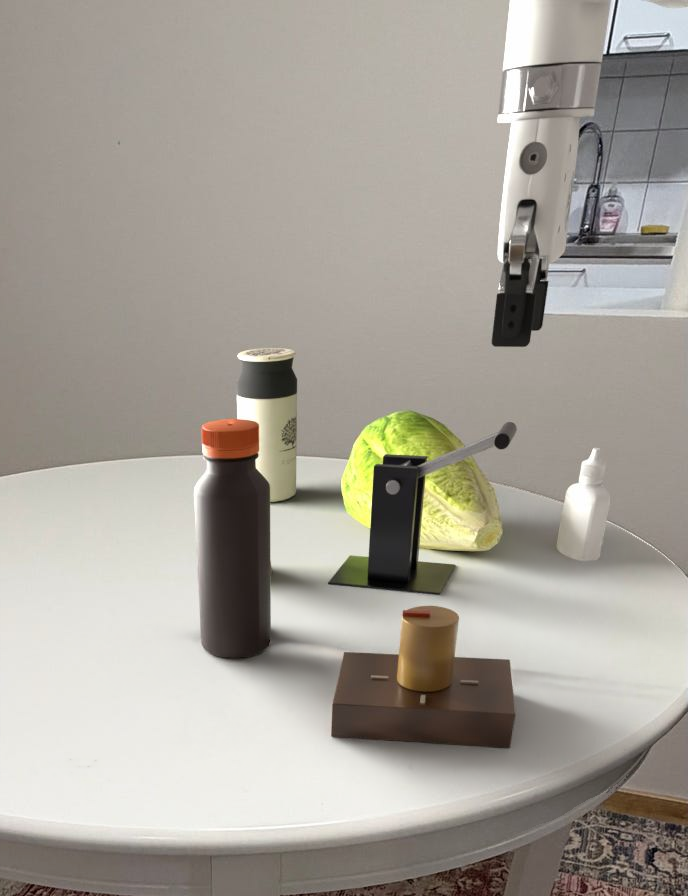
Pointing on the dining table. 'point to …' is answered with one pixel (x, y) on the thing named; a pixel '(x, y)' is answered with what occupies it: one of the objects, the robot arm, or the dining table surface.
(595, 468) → the eye dropper bottle
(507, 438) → the faucet lever
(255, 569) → the vinegar
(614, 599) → the dining table surface
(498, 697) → the knob panel
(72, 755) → the dining table surface
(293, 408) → the travel mug
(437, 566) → the black lever stand
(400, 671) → the tap knob
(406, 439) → the lettuce
